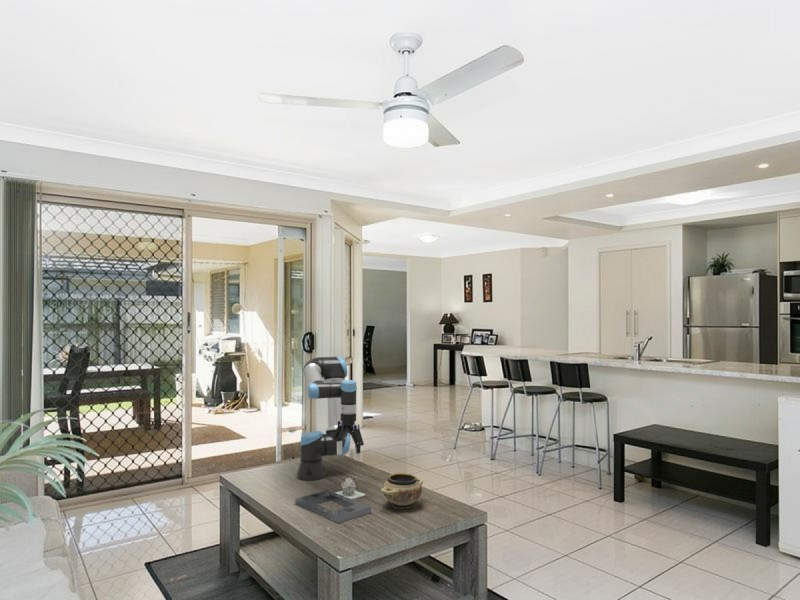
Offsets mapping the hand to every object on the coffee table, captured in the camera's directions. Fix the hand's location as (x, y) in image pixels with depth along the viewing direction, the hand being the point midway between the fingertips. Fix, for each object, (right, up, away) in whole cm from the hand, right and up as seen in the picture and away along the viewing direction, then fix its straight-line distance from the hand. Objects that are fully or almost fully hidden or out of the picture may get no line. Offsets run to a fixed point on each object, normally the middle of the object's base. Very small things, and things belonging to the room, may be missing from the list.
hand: (348, 457), depth 260 cm
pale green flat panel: (0, -18, -1) cm, 18 cm away
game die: (0, -18, -1) cm, 18 cm away
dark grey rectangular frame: (-5, -18, -18) cm, 26 cm away
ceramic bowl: (+26, -18, -15) cm, 35 cm away
